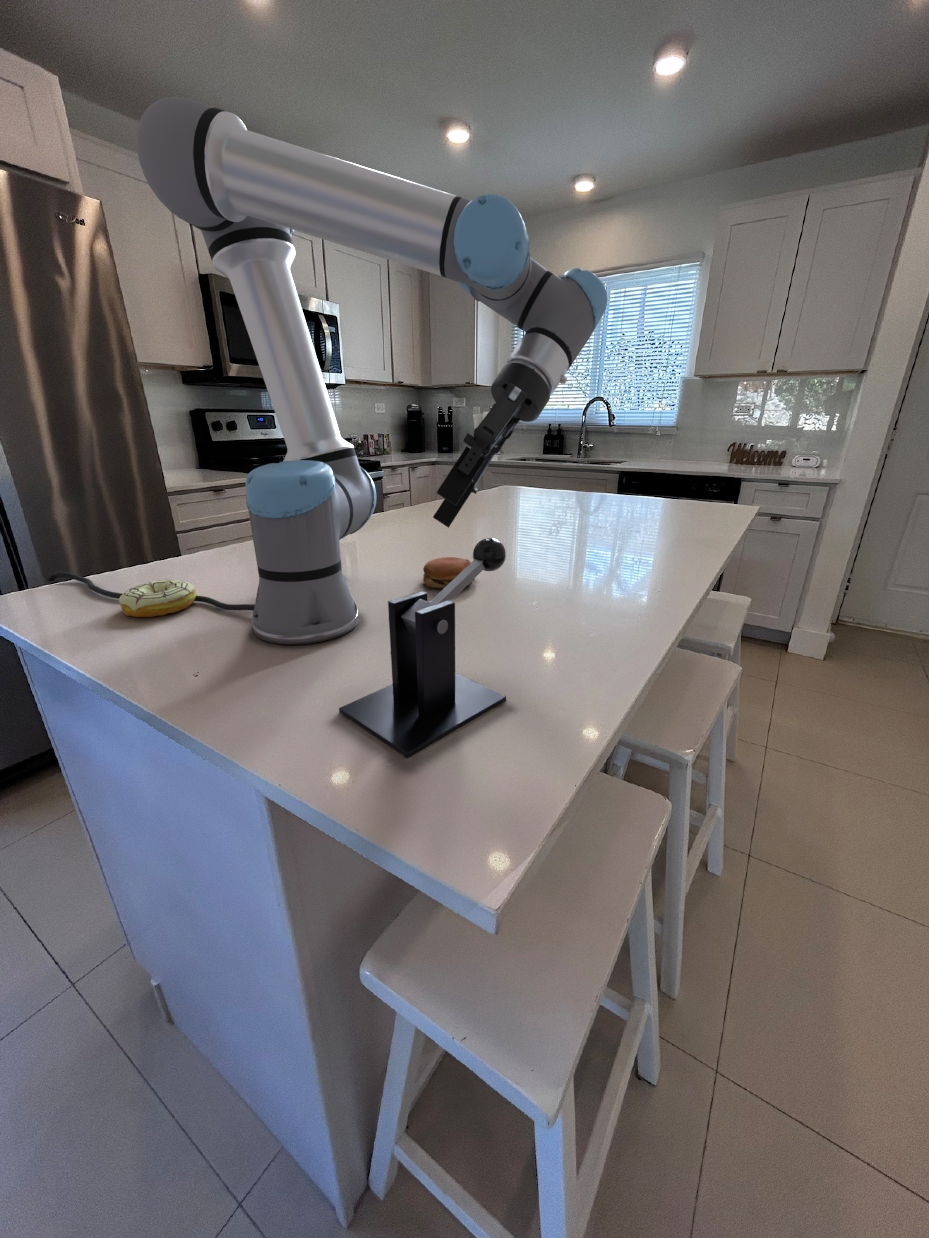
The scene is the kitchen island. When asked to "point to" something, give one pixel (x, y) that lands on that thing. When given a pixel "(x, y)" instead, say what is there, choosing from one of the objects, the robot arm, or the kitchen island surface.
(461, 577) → the lever handle
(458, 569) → the burger
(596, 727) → the kitchen island surface
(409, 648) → the black stand
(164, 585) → the decorated donut
